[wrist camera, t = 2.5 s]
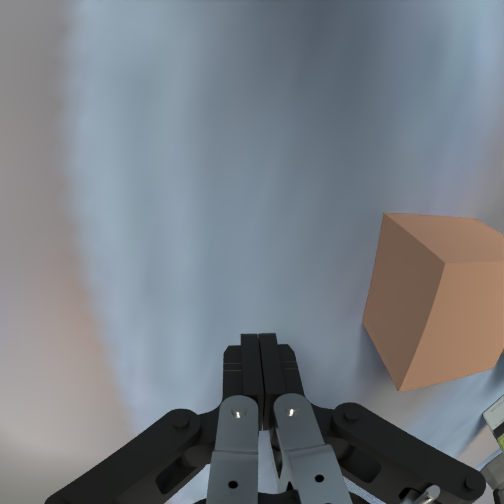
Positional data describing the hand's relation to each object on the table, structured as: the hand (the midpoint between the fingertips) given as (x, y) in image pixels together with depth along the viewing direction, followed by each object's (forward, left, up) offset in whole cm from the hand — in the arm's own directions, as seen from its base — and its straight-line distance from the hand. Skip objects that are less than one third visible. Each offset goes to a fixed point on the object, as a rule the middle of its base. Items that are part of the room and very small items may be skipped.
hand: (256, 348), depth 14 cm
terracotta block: (0, +12, -7) cm, 14 cm away
